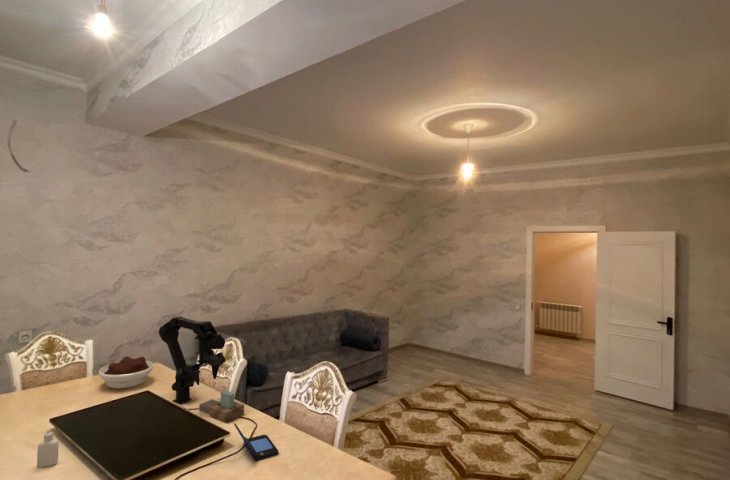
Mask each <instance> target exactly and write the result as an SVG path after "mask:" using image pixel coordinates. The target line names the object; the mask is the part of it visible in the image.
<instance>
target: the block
mask: <svg viewBox="0 0 730 480" xmlns="http://www.w3.org/2000/svg"><path fill="white" fill-rule="evenodd" d="M219 402H220V406H221V407H224V408H227V409H229V410H230V409H232V408H234V402H235V392H231V391H229V390H222V391H220V401H219Z"/></svg>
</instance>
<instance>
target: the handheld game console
mask: <svg viewBox="0 0 730 480" xmlns="http://www.w3.org/2000/svg"><path fill="white" fill-rule="evenodd" d="M233 425H234V427H235V429H236V430H237V432H238V433H239V435H240V437H241V438H242V440H243V444H244V445H245V446H246V448H247V449H248V450H249V452H250V455H251V456H252V458H253V459H252V460H254V461H255V462H257V461H260V460H263V459H266V458H270V457H274V456H276V455H279V449H278V448H277V447H276V446H275V444H274V443H273V441H272V440H271V438H270V437H269V435H267V434H261V435H257V436H252V437H249V438H247V437H245V435H244V434H243V433H242V431H241V429H240V428H239V427H238V425H237V424H236V422H235V423H234V424H233Z"/></svg>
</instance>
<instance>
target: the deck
mask: <svg viewBox="0 0 730 480" xmlns="http://www.w3.org/2000/svg"><path fill="white" fill-rule="evenodd" d="M220 402H221V401H219V400H216V399H209V400H207V401H204V402H202V403H200V404H199V405H198V406H199V407H198V408H199V412H200V413H201V412H202V413H204V414H207V415H209V413H210V407H211V406H213V405H215V404H218V403H220Z"/></svg>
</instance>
